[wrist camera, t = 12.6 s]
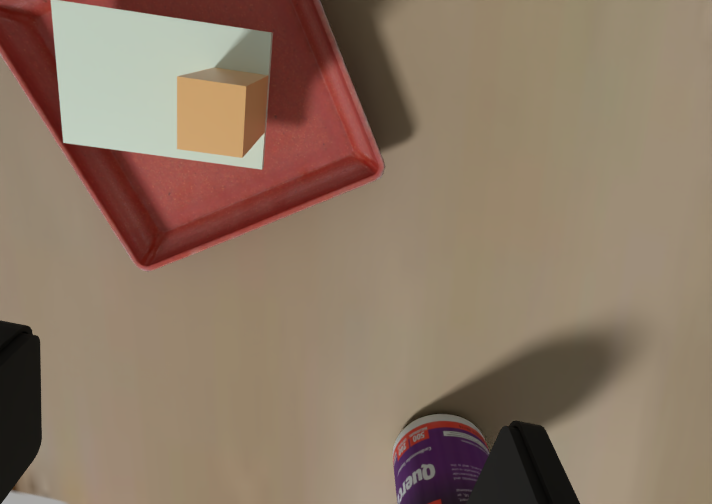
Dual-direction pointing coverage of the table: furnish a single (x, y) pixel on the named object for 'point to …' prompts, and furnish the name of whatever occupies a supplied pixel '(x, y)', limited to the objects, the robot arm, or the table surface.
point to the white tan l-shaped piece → (162, 84)
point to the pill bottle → (438, 460)
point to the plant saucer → (203, 179)
